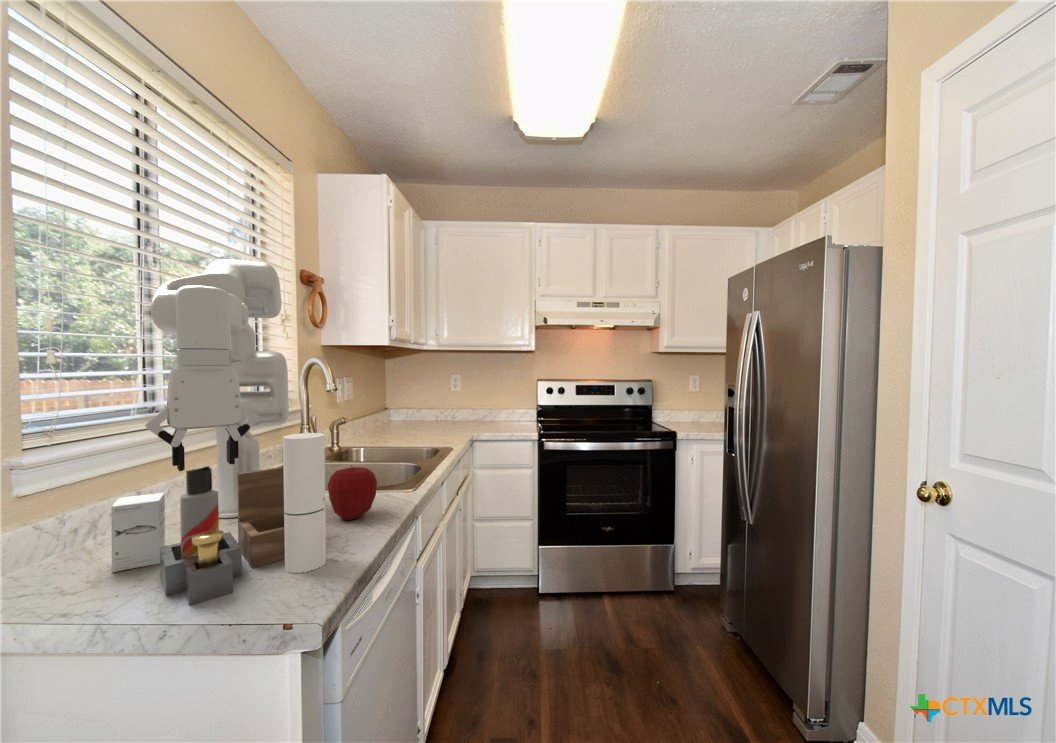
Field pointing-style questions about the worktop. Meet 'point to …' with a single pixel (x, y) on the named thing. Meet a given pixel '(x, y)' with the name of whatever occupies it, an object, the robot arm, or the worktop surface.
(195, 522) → the lotion bottle
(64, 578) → the worktop surface
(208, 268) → the robot arm
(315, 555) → the cylindrical container
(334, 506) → the apple
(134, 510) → the supplement box
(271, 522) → the rack
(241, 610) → the worktop surface
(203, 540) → the pin
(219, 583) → the socket
